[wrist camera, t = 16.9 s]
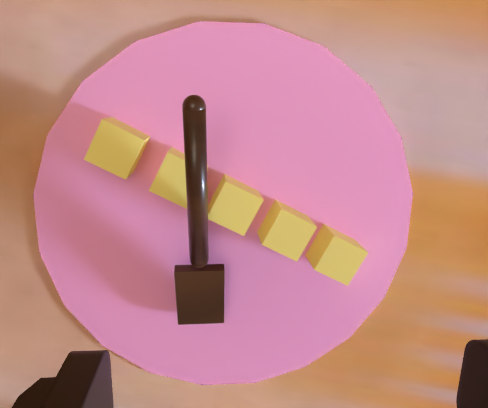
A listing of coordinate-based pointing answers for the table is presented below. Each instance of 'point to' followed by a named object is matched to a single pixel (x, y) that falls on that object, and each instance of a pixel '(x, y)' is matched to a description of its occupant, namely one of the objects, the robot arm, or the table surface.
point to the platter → (224, 201)
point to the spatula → (198, 229)
